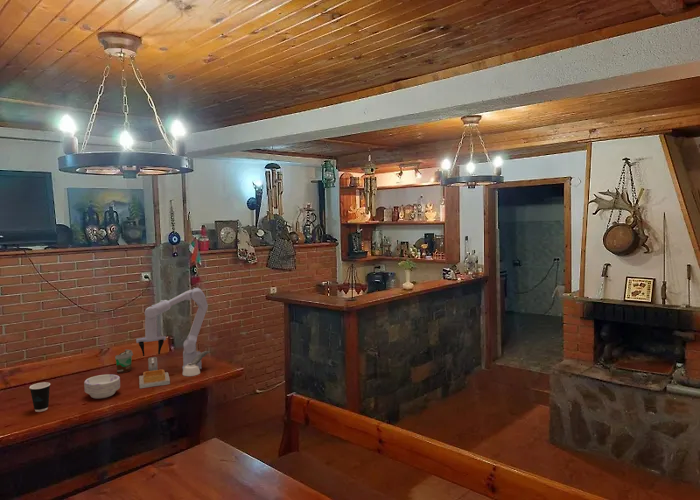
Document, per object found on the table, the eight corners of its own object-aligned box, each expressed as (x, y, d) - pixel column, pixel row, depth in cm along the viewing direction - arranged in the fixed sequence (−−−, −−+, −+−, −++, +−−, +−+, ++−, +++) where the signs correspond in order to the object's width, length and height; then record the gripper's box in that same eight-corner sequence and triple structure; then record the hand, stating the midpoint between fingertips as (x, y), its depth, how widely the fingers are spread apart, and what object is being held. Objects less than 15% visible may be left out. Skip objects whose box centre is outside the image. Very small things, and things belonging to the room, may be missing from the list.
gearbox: (168, 375, 266) (167, 367, 266) (170, 384, 253) (169, 375, 253) (139, 379, 260) (138, 371, 260) (139, 388, 248) (139, 379, 247)
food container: (127, 373, 270) (126, 355, 269) (116, 374, 270) (115, 355, 270) (137, 366, 283) (136, 349, 282) (126, 366, 283) (125, 349, 282)
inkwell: (178, 374, 268) (177, 356, 267) (204, 365, 283) (204, 348, 282) (190, 377, 263) (189, 358, 262) (216, 368, 278) (215, 350, 277)
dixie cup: (48, 404, 228) (47, 381, 228) (54, 409, 223) (52, 385, 222) (28, 410, 223) (26, 385, 222) (34, 414, 217) (32, 389, 216)
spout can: (157, 371, 274) (156, 356, 274) (158, 374, 268) (157, 359, 268) (148, 372, 273) (148, 357, 272) (149, 375, 267) (148, 360, 266)
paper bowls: (127, 390, 245) (126, 374, 244) (104, 402, 230) (103, 385, 230) (101, 388, 249) (100, 372, 248) (77, 399, 234) (76, 382, 234)
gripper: (164, 326, 276) (164, 351, 277) (135, 329, 270) (136, 354, 271) (166, 329, 270) (166, 354, 271) (136, 332, 264) (136, 357, 265)
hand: (151, 354), depth 270 cm, fingers open, 7 cm apart
